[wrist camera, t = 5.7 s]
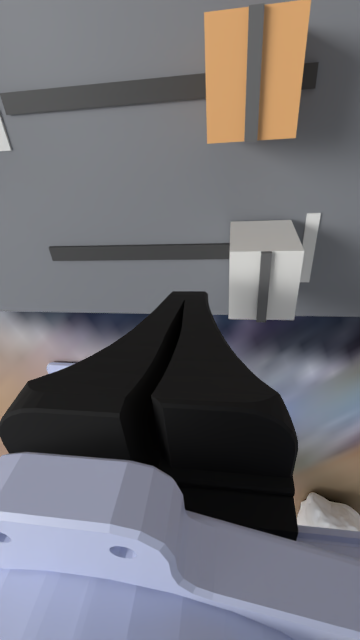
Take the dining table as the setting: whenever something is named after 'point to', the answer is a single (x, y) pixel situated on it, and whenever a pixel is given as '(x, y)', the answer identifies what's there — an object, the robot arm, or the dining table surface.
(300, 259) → the pale fader
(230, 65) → the block
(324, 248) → the fader board
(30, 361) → the dining table surface
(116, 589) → the robot arm
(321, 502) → the white irregular lump
